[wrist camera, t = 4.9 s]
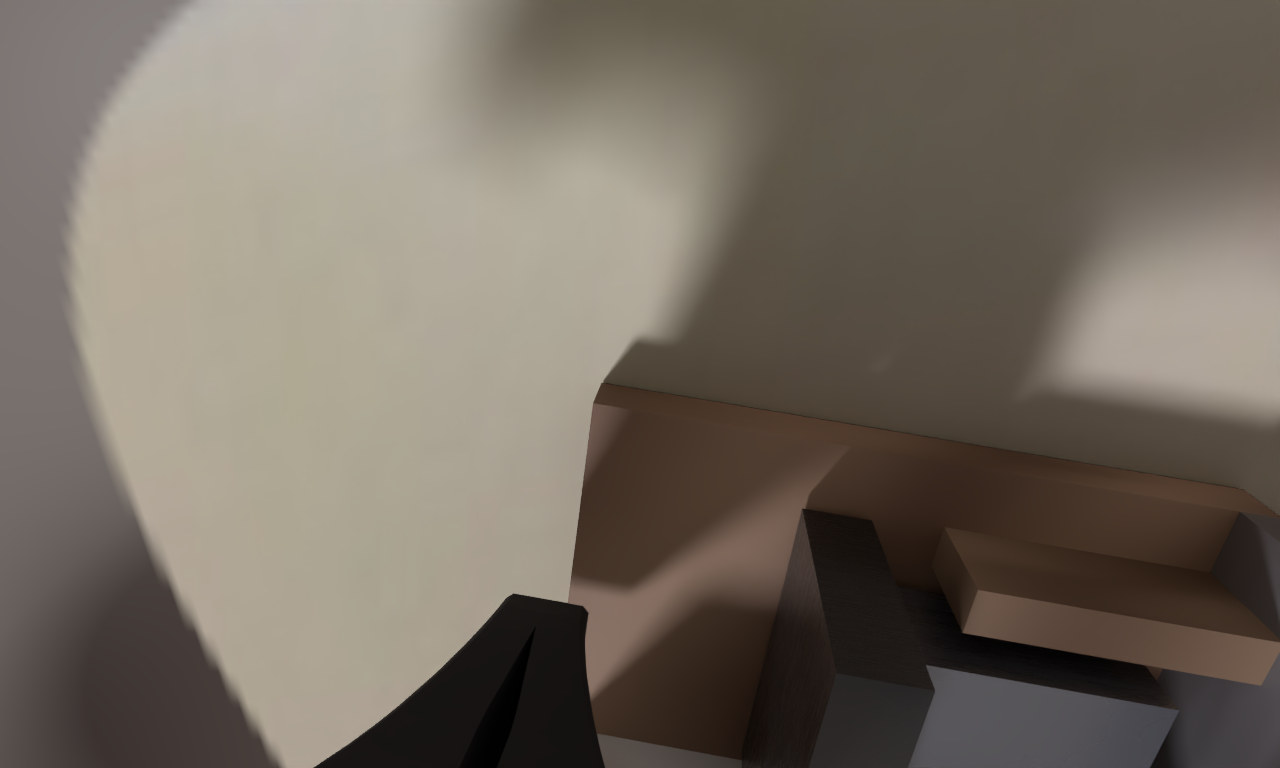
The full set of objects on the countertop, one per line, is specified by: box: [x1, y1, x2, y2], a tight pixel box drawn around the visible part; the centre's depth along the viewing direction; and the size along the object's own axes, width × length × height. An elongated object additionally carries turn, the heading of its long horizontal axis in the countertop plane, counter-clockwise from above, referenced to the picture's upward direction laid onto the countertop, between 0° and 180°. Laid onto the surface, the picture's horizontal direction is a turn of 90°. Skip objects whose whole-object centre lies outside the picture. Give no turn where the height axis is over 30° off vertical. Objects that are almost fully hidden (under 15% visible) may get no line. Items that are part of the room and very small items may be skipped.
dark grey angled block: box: [741, 508, 1179, 768], centre depth 12 cm, size 6×6×4 cm
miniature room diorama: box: [568, 383, 1280, 768], centre depth 12 cm, size 12×8×6 cm
